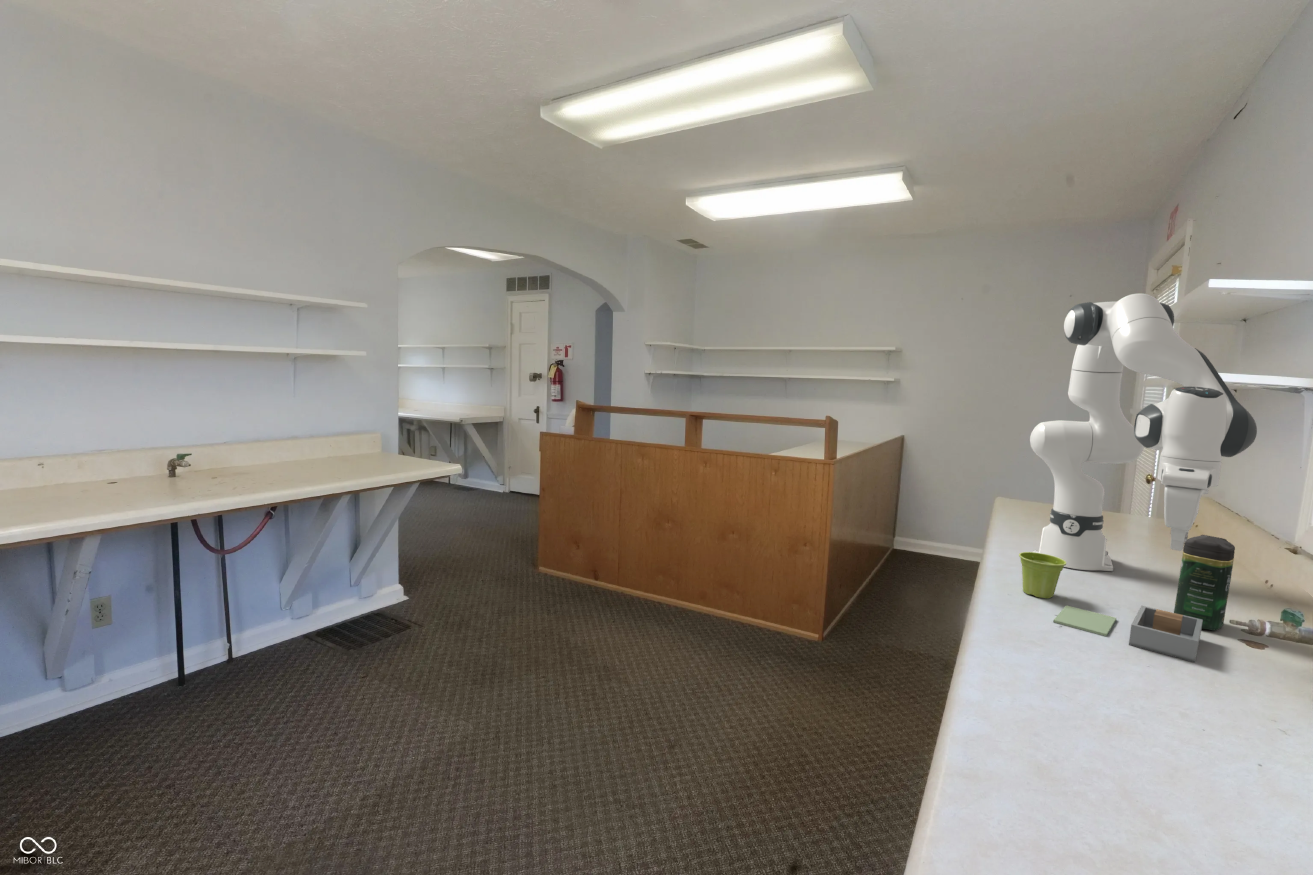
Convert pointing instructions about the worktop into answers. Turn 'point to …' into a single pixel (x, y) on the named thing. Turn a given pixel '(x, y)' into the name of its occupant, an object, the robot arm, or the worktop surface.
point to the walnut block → (1167, 622)
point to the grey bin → (1166, 636)
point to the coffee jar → (1205, 580)
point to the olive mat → (1085, 620)
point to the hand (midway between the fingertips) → (1178, 545)
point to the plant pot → (1040, 573)
